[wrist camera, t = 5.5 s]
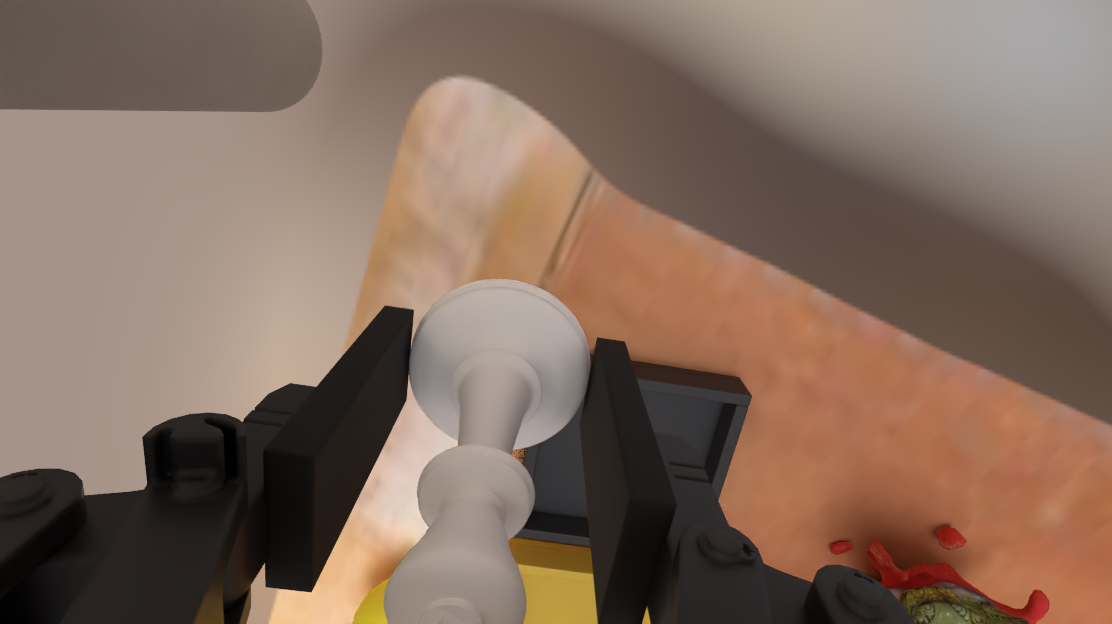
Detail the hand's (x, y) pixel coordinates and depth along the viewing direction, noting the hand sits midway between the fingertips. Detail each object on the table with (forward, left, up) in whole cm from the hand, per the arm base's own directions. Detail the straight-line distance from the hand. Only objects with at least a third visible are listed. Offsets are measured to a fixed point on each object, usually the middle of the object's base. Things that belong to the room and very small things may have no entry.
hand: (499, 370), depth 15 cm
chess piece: (0, 0, -1) cm, 1 cm away
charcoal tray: (+9, +7, -12) cm, 17 cm away
